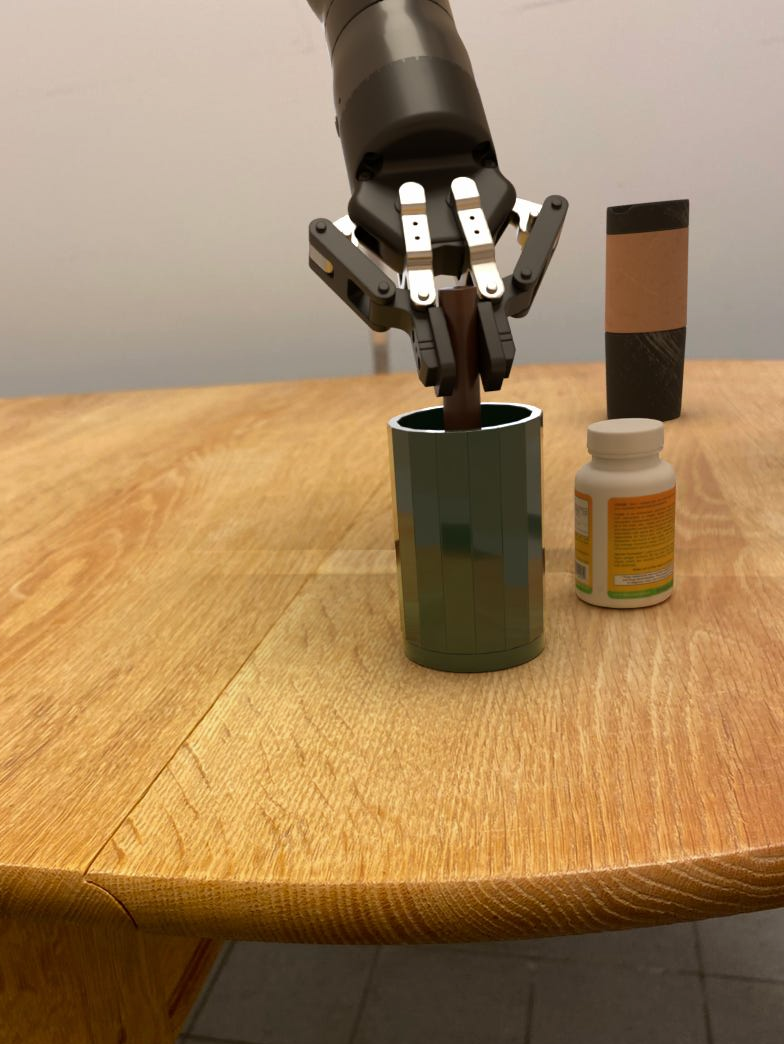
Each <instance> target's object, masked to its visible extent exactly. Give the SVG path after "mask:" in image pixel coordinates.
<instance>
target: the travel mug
mask: <svg viewBox="0 0 784 1044" xmlns="http://www.w3.org/2000/svg"><path fill="white" fill-rule="evenodd" d="M605 217H606V218H605V220H606V221H605V224H606V225H605V234H606V235H605V277H604V278H605V279H604V281H605V283H604V284H605V285H604V286H605V287H604V290H605V291H604V292H605V293H604V350H605V351H604V354H605V355H604V357H605V393H606V395H605V396H606V416H607V420H612V419H626V418H644V419H653V420H658V421H661V422H664V421H669V420H673V419H676V418H678V417H680V416H681V414H682V403H683V389H684V388H683V387H684V374H685V373H684V372H685V358H686V342H687V341H686V340H687V325H688V324H687V323H688V321H687V320H688V289H689V288H688V286H689V285H688V284H689V283H688V281H689V274H688V273H689V237H690V236H689V235H690V233H689V232H690V227H689V226H690V199H689V198H682V199H681V198H679V199H670V200H661V201H648V202H640V203H639V202H638V203H631V204H630V203H629V204H621V205H614V206H613V205H612V206H607V207H606V216H605Z"/></svg>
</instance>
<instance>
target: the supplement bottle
mask: <svg viewBox="0 0 784 1044" xmlns="http://www.w3.org/2000/svg"><path fill="white" fill-rule="evenodd" d="M664 444H665V424H664V422H663V421H658V420H653V419H644V418H626V419H612V420H609V419H607V420H601V421H597V422H593V423H591V424H589V425H588V426H587V429H586V449H587V453H588V454H589V455H591V459H590V461H588V462H586V463H584V464H582V465H581V466H580V467H579V468H578V470H577V471H576V473H575V476H574V487H573V495H574V496H573V497H574V499H573V502H574V507H573V509H574V586H575V587H574V588H575V593H576V594H577V596H578V598H579V599H580V600H582V601H584V602H585V603H587V604H590V605H594V606H597V607H603V608H611V609H635V608H636V609H637V608H644V607H651V606H655V605H657V604H660V603H662V602H664V601H665V600H667V599H668V598H669V597H670V596H671V595H672V593H673V591H674V580H675V538H676V537H675V536H676V535H675V534H676V533H675V532H676V503H677V502H676V499H677V475H676V470H675V469H674V467H673V466H672V464H671V463H669V462H668V461H666V460H664V459H662V458H660V453H661V452H662V451H664Z"/></svg>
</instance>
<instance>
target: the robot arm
mask: <svg viewBox="0 0 784 1044" xmlns="http://www.w3.org/2000/svg"><path fill="white" fill-rule="evenodd" d="M305 1H306V3H307V5H308V7H309V8H310V11H311V12H312V13H313V15H314V16H315V17H316V19H317V20H318V22H319V24H320V25H321V27H322V29H323V34H324V39H325V43H326V48H327V54H328V58H329V64H330V69H331V76H332V101H333V108H334V109H333V110H334V114H335V117H334V120H335V121H334V124H335V129H336V133H337V137H338V139H339V140H340V144H341V149H342V154H343V160H344V165H345V169H346V174H347V180H348V184H349V185H348V186H349V190H350V194H351V196H350V198H349V200H348V203H347V209H346V210H347V214H346V215H344V216H342V217H340V218H338V219H337V220H335V221H333V222H332V221H331V220H329V219H328V218H325V217H318V218H314V219H312V220H311V221H310V222H309V223H308V267H309V268H310V270H311V271H312V272H313V273H314V274H315V275H316V276H317V277H318V278H319V279H320V280H321V281H322V282H323V283H324V284H325V285H326V286H327V287H328V288H329V289H330V290H331V291H332V292H333V293H334V294H335V295H336V296H337V297H338V298H339V299H340V300H341V301H342V302H343V303H344V304H346V306H347V307H348V308H349V309H351V310H352V311H353V313H355V315H356V316H357V317H358V318H359V319H361V321H362V322H363V323H364V324H365V325H367V327H369V329H370V330H372V331H373V332H376V333H386V332H388V331H389V330H391V329H397V330H400V331H403V332H405V333H406V334H407V336H408V337H409V338H410V341H411V342H410V343H411V348H412V352H413V357H414V362H415V367H416V370H417V376H418V380H419V381H420V383H421V384H422V386H423V387H424V388H431V387H433V391H434V394H435V397H436V398H443V397H445V396H452V394H453V389H454V384H455V379H456V363H455V359H454V354H453V350H452V346H451V341H450V337H449V333H448V328H447V324H446V320H445V315H444V311H443V309H442V307H439V306H437V303H436V302H437V301H436V300H437V290H436V281H435V277H438V276H447V277H453V280H454V283H455V286H476V287H477V316H478V347H479V373H480V382H481V386H482V389H483V391H484V393H490V392H491V393H492V392H500V391H501V390H502V387H503V382H504V380H505V379H509V378H510V375H511V371H512V367H513V364H514V361H515V355H516V351H517V349H516V346H515V341H514V337H513V333H512V330H511V329H512V328H511V326H510V321H509V317H510V318H513V319H523V318H525V317H526V316H528V314H529V313H530V310H531V308H532V306H533V303H534V300H535V298H536V296H537V294H538V291H539V289H540V286H541V284H542V282H543V280H544V277H545V275H546V274H547V273H546V272H547V270H548V269H549V265H550V263H551V262H552V261H551V260H552V258H553V256H554V255H555V252H556V249H557V247H558V244H559V241H560V238H561V234H562V230H563V227H564V224H565V221H566V218H567V213H568V210H569V207H570V203H569V201H568V200H567V198H566V197H564V196H562V195H559V194H550V195H549V196H547V197H546V198H545V199H544V201H543V204H541V203H538V202H533V201H531V200H527V199H525V198H520V197H518V196H517V191H516V187H515V186H514V184H513V183H512V182H511V181H510V180H509V179H508V178H507V177H506V176H504V174H503V173H502V171H501V169H500V166H499V162H498V156H497V155H498V154H497V151H496V147H495V144H494V141H493V137H492V133H491V129H490V126H489V121H488V119H487V115H486V112H485V108H484V104H483V101H482V97H481V96H482V95H481V93H480V89H479V86H478V82H477V79H476V76H475V71H474V68H473V65H472V62H471V59H470V55H469V52H468V50H467V47H466V45H465V43H464V42H463V40H462V38H461V36H460V34H459V31H458V29H457V26H456V22H455V18H454V15H453V10H452V7H451V3H450V0H305ZM509 225H510V226H512V227H514V229H515V231H516V236H515V239H516V242H517V243H518V244H519V245H520V251H521V253H520V255H519V257H518V260H517V262H516V264H515V266H514V268H513V270H512V271H513V272H512V273H511V274H509V275H507V276H504V277H502V276H501V272H500V270H499V266H498V264H497V260H496V246H497V244H498V242H499V241H500V240H501V238H502V236H503V235H504V233H505V231H506V229H507V228H508V226H509ZM360 246H362V247H363V248H364V249H366V251H368V252H369V253H370V254H371V255H373V256H374V257H376V258H377V259H378V260H380V261H381V262H382V263H383V264H385V265H386V266H387V267H389V268H390V269H391V270H392V271H393V272H395V273H396V276H397V283H398V287H397V285H396V283H395V282H394V281H393V280H392V279H391V278H390V277H389V276H388V275H387V274H386V273H385V272H384V271H383V270H382V269H381V268H380V267H379V266H378V265H376V263H375V262H373V261H372V260H371V259H370V258H369V256H367V255H366V254H365V253H364V252H363V251H362V250H361V249H360V248H359V247H360Z"/></svg>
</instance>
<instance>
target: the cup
mask: <svg viewBox="0 0 784 1044" xmlns="http://www.w3.org/2000/svg"><path fill="white" fill-rule="evenodd" d="M481 427H482V428H477V429H468V430H446V431H444V413H443V405H436V406H433V407H432V406H430V407H426V408H425V407H424V408H420V409H416V410H415V409H414V410H411V411H407V412H404V413H402V414H399V415H395V416H393V417H392V418H390V420H388V421H387V422H386V432H387V434H386V435H387V447H388V448H387V449H388V462H389V464H388V465H389V478H390V490H391V491H390V493H391V507H392V518H393V520H392V522H393V535H394V551H395V563H396V564H395V567H396V581H397V593H398V594H397V595H398V608H399V610H398V611H399V623H400V625H399V626H400V632H401V637H402V649H403V652H404V655H406V657H407V658H409V660H410V661H412V662H414V663H415V664H418V665H420V666H423V667H426V668H429V669H432V670H433V669H434V670H437V671H438V670H439V671H442V672H451V673H452V672H454V673H483V672H492V671H498V670H504V669H509V668H513V667H517V666H519V665H522V664H525V663H527V662H529V661H532V660H533V659H534V658H536V657H537V656H538V655H540V654H541V653H542V651H544V648H545V646H546V624H547V603H546V602H547V600H546V599H547V598H546V596H547V595H546V594H547V593H546V591H547V590H546V529H545V526H546V524H545V523H546V521H545V463H544V462H545V461H544V459H545V458H544V455H545V453H544V411H543V410H542V409H540V408H538V407H536V406H534V405H531V404H530V405H529V404H525V403H524V404H523V403H516V402H493V401H492V402H489V401H488V402H481Z"/></svg>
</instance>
